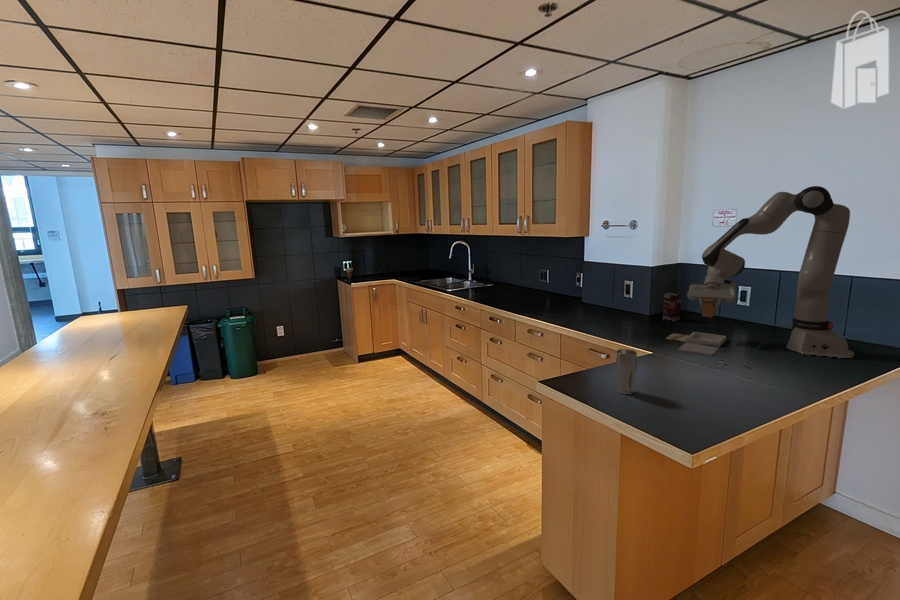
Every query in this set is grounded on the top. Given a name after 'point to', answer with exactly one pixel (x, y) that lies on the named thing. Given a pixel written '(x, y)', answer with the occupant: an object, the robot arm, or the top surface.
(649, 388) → the top surface
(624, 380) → the beer glass
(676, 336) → the pad
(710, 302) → the block
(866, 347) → the top surface
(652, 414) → the top surface
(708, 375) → the top surface
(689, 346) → the case
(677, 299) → the supplement box
